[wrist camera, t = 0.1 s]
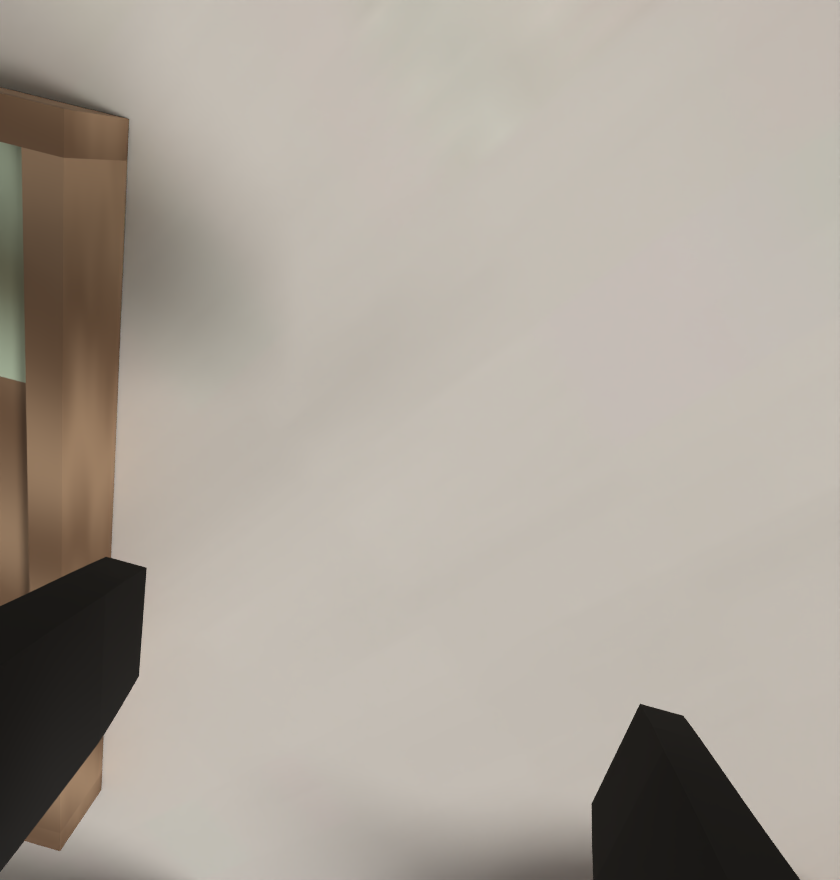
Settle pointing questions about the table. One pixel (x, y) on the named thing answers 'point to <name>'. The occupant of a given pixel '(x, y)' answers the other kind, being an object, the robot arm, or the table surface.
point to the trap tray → (58, 360)
